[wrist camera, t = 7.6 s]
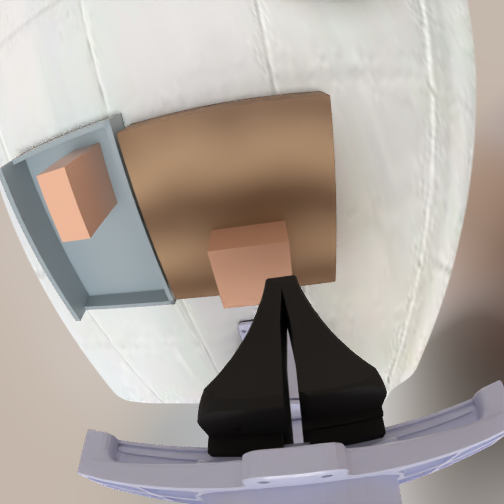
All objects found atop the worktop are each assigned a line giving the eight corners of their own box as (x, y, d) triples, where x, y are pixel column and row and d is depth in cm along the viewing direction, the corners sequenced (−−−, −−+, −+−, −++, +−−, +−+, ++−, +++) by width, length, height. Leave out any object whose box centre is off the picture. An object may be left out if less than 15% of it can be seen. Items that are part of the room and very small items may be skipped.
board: (329, 262, 25) (335, 281, 23) (181, 279, 26) (175, 299, 24) (320, 91, 17) (329, 95, 15) (130, 124, 18) (116, 133, 16)
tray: (179, 288, 27) (171, 316, 24) (88, 296, 28) (75, 320, 25) (120, 113, 18) (98, 124, 15) (21, 154, 19) (-4, 170, 16)
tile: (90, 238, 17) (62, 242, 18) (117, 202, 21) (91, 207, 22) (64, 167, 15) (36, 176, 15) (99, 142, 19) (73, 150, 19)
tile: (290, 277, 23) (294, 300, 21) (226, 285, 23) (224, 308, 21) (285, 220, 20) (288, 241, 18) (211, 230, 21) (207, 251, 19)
